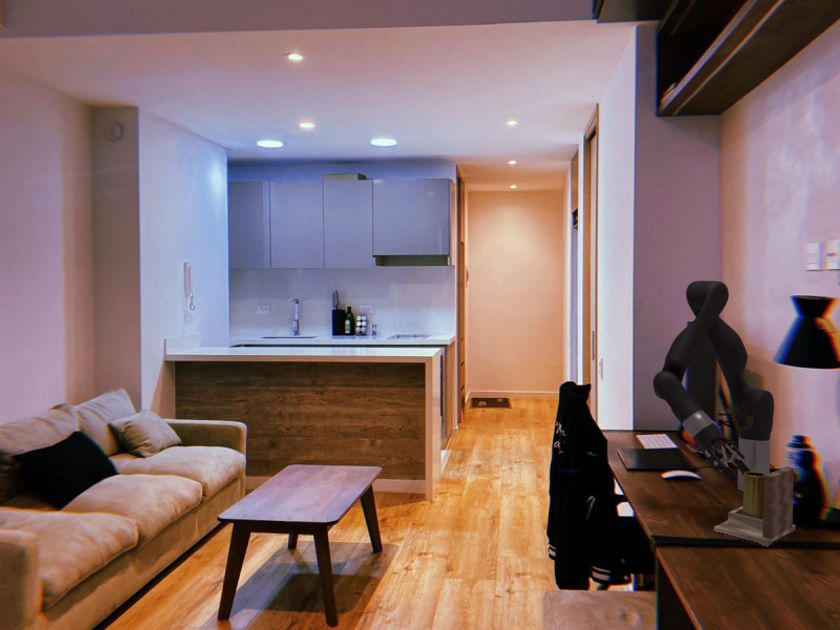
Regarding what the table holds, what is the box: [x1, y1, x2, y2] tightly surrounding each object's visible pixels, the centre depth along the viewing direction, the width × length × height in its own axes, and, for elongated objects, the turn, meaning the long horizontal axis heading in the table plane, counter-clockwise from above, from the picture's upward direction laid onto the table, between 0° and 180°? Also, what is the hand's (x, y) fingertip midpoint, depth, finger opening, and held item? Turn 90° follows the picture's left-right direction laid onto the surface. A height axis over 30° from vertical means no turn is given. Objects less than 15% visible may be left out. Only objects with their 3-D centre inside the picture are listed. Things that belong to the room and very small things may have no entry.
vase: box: [742, 471, 765, 520], centre depth 191 cm, size 6×6×14 cm
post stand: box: [713, 466, 796, 548], centre depth 191 cm, size 18×14×18 cm
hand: (742, 478), depth 193 cm, fingers open, 8 cm apart
